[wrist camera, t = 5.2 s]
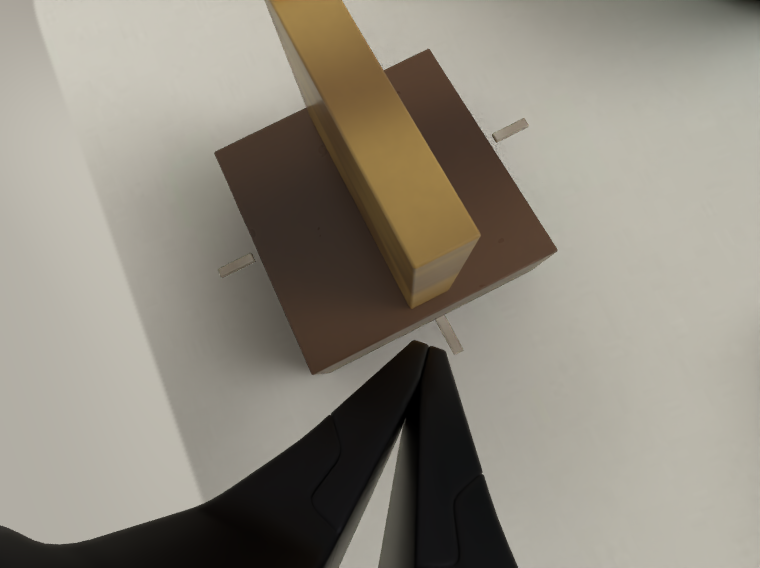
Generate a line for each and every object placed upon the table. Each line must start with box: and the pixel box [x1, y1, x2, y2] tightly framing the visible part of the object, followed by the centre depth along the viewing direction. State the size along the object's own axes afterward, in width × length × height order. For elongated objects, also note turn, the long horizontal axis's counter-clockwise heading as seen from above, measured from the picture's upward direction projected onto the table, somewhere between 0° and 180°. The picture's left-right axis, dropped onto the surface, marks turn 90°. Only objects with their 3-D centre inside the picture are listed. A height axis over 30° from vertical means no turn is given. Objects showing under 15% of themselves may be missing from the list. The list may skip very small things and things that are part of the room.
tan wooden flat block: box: [265, 0, 481, 309], centre depth 12 cm, size 9×2×6 cm, turn 26°
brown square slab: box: [214, 49, 557, 375], centre depth 16 cm, size 13×13×3 cm
